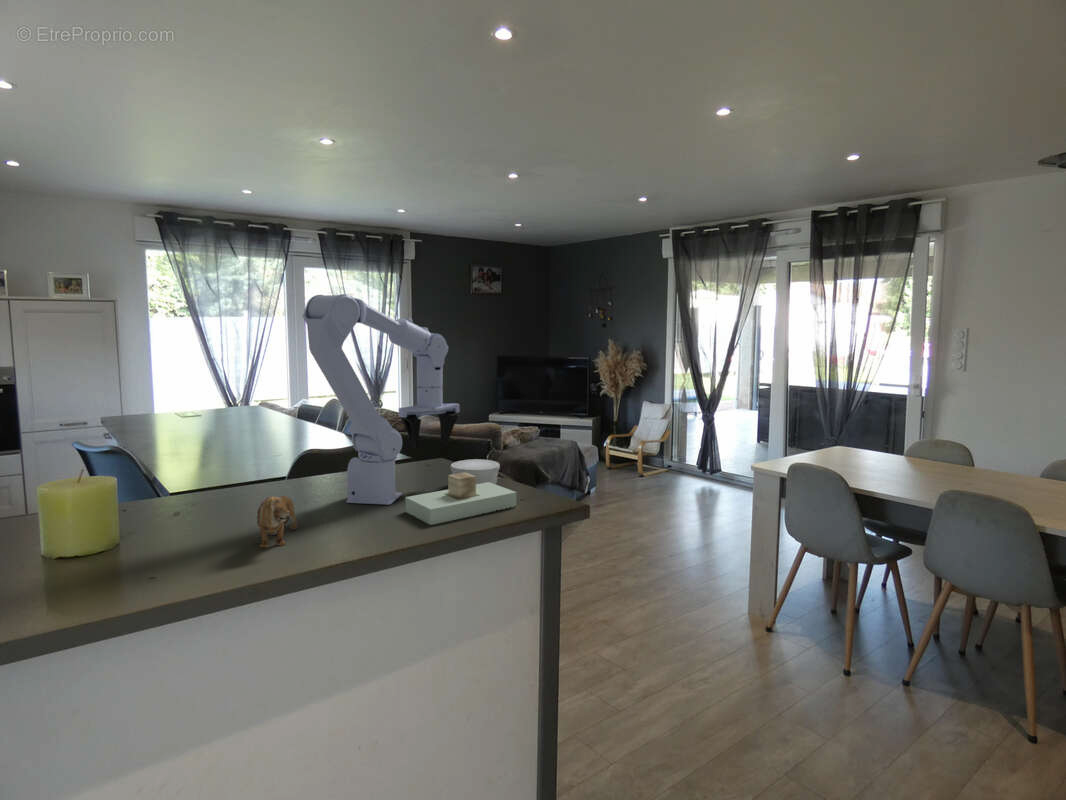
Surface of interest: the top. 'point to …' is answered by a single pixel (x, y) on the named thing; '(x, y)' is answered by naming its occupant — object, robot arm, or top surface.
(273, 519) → the orange animal figure
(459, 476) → the peg
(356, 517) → the top surface
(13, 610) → the top surface
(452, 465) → the ramekin
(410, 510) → the socket block
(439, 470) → the top surface
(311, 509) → the top surface
